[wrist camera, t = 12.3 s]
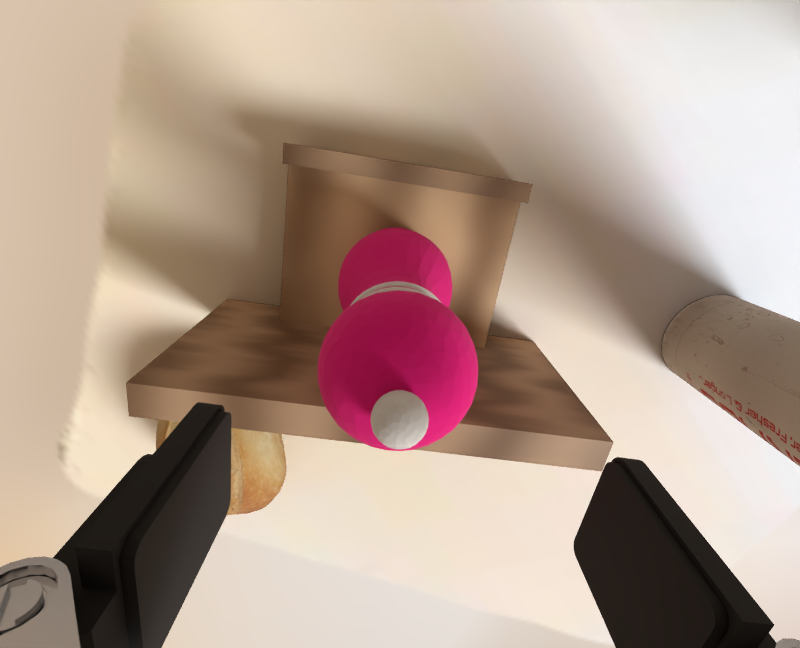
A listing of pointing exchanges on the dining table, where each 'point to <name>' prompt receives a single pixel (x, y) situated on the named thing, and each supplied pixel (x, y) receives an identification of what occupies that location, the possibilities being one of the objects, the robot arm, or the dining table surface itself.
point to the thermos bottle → (741, 364)
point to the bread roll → (248, 466)
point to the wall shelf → (320, 306)
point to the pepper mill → (397, 345)
